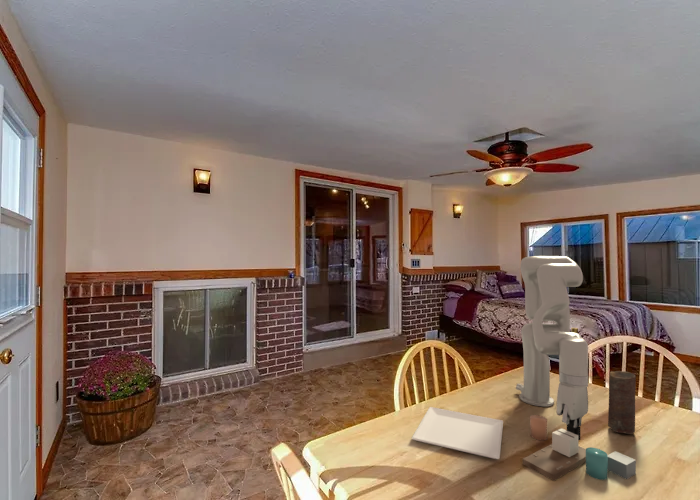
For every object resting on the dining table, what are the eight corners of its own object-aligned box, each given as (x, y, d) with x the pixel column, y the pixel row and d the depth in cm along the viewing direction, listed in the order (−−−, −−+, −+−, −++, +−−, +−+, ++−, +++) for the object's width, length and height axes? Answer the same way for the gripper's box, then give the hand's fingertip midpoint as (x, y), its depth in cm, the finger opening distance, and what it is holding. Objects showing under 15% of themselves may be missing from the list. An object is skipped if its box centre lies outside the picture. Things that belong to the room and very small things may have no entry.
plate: (503, 425, 127) (503, 420, 127) (499, 465, 104) (499, 458, 104) (429, 411, 139) (429, 406, 139) (411, 444, 115) (411, 437, 115)
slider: (552, 449, 108) (552, 432, 108) (561, 444, 111) (561, 427, 111) (569, 457, 104) (569, 439, 104) (578, 452, 107) (578, 435, 107)
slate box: (606, 469, 101) (606, 455, 101) (615, 464, 104) (615, 451, 104) (626, 479, 97) (626, 465, 97) (635, 474, 99) (635, 459, 99)
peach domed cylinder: (527, 435, 120) (527, 417, 120) (535, 431, 123) (535, 413, 123) (541, 441, 116) (541, 423, 116) (550, 437, 119) (550, 419, 119)
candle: (640, 438, 118) (640, 377, 118) (615, 436, 119) (615, 376, 120) (627, 427, 125) (627, 370, 126) (603, 425, 127) (603, 368, 127)
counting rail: (522, 463, 104) (522, 457, 104) (562, 443, 115) (562, 438, 115) (553, 480, 96) (553, 474, 96) (593, 457, 107) (593, 451, 107)
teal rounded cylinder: (582, 472, 100) (582, 450, 100) (591, 466, 103) (591, 445, 103) (602, 482, 96) (602, 459, 96) (611, 476, 98) (611, 454, 98)
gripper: (573, 370, 117) (573, 427, 117) (547, 379, 109) (547, 440, 109) (598, 377, 111) (599, 437, 111) (573, 387, 103) (573, 451, 103)
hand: (573, 438), depth 110 cm, fingers closed
